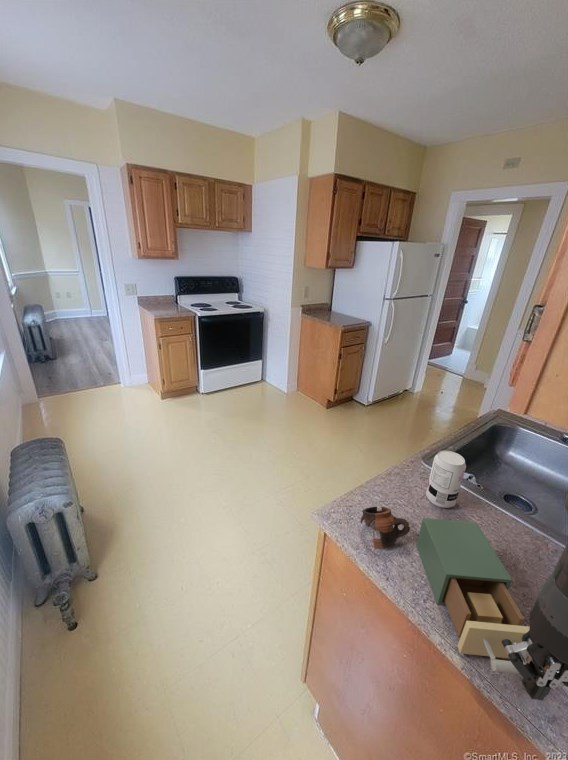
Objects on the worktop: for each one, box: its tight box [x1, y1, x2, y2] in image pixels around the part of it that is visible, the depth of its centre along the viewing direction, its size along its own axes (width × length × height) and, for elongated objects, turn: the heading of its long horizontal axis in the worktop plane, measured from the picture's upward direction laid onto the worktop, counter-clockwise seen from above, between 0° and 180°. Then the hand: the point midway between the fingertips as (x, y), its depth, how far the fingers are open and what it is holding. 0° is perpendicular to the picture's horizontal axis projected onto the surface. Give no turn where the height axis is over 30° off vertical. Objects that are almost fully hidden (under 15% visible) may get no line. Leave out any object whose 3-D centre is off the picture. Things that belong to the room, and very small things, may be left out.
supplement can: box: [425, 450, 467, 509], centre depth 93 cm, size 8×8×15 cm
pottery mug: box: [359, 506, 411, 549], centre depth 83 cm, size 12×10×8 cm
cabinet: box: [415, 517, 513, 606], centre depth 72 cm, size 15×13×9 cm
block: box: [465, 592, 503, 624], centre depth 62 cm, size 4×4×4 cm
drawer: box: [443, 577, 530, 675], centre depth 61 cm, size 18×11×7 cm, turn 175°
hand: (532, 691), depth 48 cm, fingers closed
